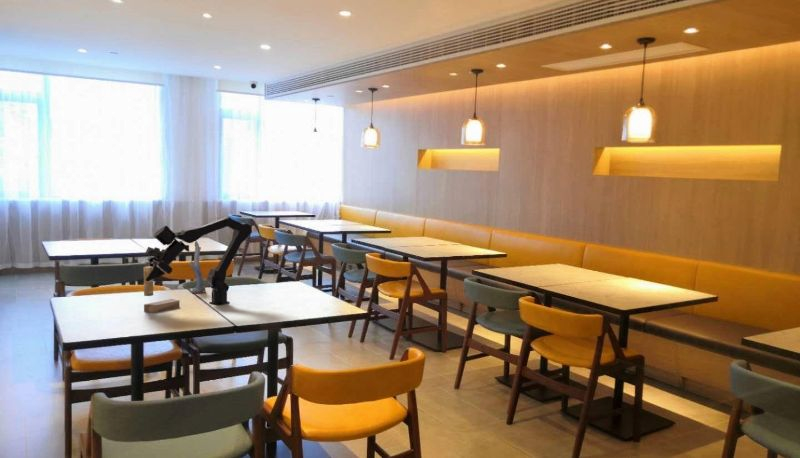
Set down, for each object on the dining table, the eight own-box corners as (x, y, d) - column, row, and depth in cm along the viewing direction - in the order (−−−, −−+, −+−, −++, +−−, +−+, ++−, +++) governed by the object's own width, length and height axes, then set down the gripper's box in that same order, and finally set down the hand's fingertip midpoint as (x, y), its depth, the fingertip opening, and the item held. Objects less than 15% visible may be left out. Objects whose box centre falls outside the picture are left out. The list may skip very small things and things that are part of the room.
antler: (206, 293, 283) (206, 243, 281) (189, 294, 280) (189, 243, 278) (204, 289, 293) (205, 240, 291) (188, 289, 290) (188, 240, 288)
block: (179, 307, 252) (179, 300, 252) (151, 312, 240) (151, 305, 240) (171, 305, 255) (171, 298, 254) (144, 311, 243) (144, 304, 242)
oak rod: (155, 294, 245) (154, 266, 244) (148, 296, 241) (147, 268, 240) (149, 293, 246) (148, 266, 245) (142, 295, 243) (141, 267, 242)
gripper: (151, 237, 251) (125, 264, 246) (163, 242, 237) (135, 271, 231) (170, 254, 257) (145, 281, 251) (183, 259, 242) (156, 288, 236)
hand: (145, 280), depth 242 cm, fingers closed on oak rod, 4 cm apart
